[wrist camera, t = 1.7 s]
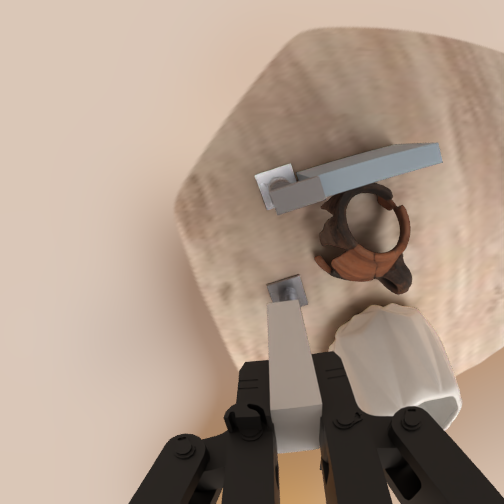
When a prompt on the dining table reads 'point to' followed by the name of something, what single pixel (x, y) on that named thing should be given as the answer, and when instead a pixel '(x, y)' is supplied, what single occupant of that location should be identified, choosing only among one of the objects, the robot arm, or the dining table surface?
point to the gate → (353, 173)
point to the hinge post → (274, 181)
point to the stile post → (288, 291)
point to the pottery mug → (356, 256)
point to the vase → (397, 363)
